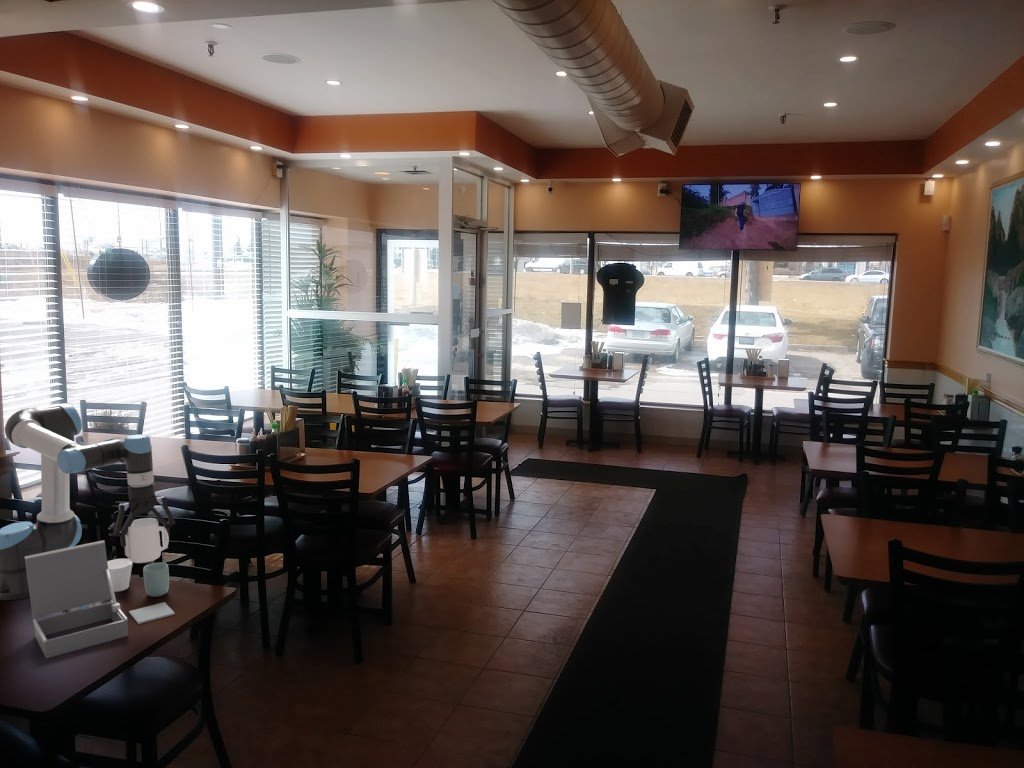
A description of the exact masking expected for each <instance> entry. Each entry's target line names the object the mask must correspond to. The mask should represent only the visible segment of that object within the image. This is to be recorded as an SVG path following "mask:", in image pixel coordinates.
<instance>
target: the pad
mask: <svg viewBox="0 0 1024 768" xmlns="http://www.w3.org/2000/svg"><path fill="white" fill-rule="evenodd" d="M128 613H129V615H130V617H132V619H134V621H135V622H136V623H137V625H141V624H144V623H150V622H152V621H153V622H154V621H157V620H160V619H163V618H167V617H171V616H175V615H176V613H175V612H174V610H173V609H172V608H171V607H170V606H169V604H167V603H166V602H165V601H163V602H159V603H156V604H153V605H148V606H143V607H140V608H136V609H132V610H129V611H128Z"/></svg>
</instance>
